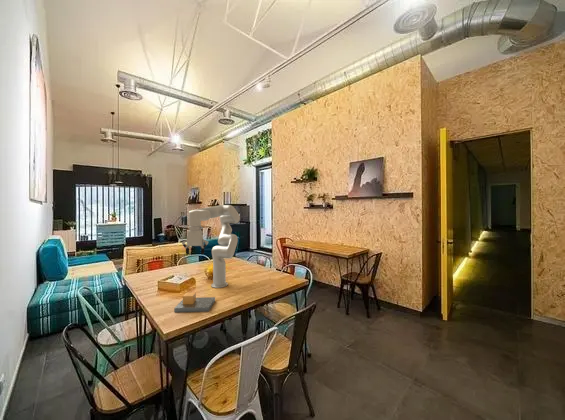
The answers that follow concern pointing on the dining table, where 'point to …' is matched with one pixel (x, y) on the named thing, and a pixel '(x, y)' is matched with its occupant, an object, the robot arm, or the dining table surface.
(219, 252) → the robot arm
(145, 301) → the dining table surface
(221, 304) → the dining table surface
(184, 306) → the plate
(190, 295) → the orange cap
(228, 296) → the dining table surface
